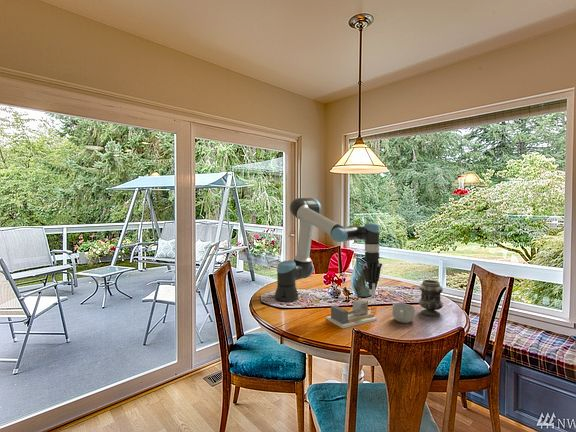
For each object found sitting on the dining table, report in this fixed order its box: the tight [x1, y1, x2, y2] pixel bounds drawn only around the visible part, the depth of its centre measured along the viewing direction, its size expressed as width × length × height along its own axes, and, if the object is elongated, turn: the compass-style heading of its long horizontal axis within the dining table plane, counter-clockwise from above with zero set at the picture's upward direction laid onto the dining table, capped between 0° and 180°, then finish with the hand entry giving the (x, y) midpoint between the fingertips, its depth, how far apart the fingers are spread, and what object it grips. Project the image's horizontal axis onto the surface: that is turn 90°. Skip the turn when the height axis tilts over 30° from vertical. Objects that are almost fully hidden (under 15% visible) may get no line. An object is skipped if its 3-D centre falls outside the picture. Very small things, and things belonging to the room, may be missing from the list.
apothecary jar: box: [418, 279, 444, 318], centre depth 169 cm, size 12×12×18 cm
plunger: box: [352, 299, 371, 316], centre depth 162 cm, size 10×5×7 cm, turn 28°
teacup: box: [392, 302, 416, 324], centre depth 157 cm, size 14×11×8 cm
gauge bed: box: [325, 304, 377, 329], centre depth 161 cm, size 14×22×7 cm, turn 118°
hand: (372, 294), depth 167 cm, fingers closed
